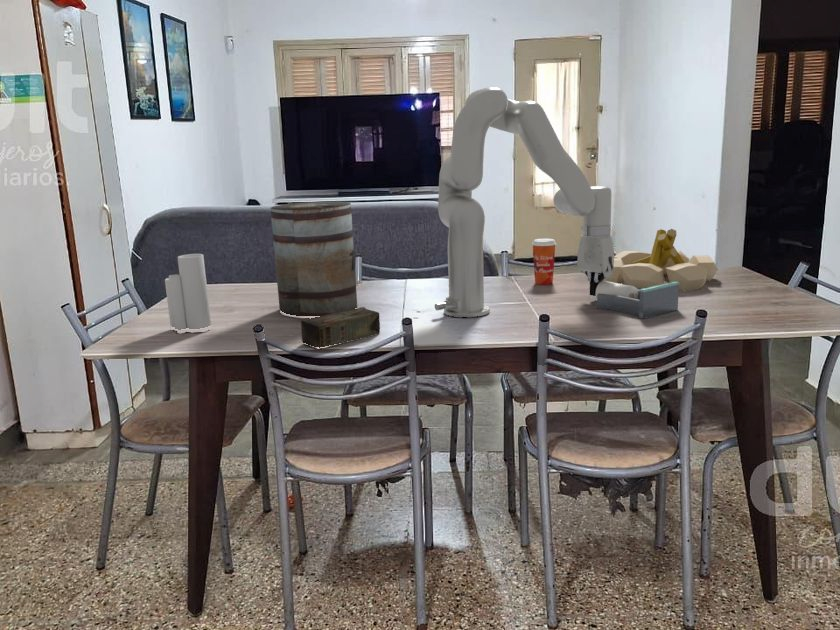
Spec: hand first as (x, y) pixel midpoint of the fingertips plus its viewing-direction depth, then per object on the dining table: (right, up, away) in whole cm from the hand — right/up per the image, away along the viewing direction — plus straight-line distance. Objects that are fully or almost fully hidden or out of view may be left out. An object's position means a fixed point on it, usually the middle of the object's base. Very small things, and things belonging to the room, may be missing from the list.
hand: (595, 294), depth 206 cm
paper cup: (-10, +4, +26) cm, 28 cm away
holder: (+8, -4, -12) cm, 15 cm away
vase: (-112, -10, -14) cm, 113 cm away
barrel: (-80, -4, +4) cm, 80 cm away
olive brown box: (-70, -12, -28) cm, 76 cm away
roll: (+4, -3, -6) cm, 8 cm away
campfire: (+25, +5, +23) cm, 34 cm away
